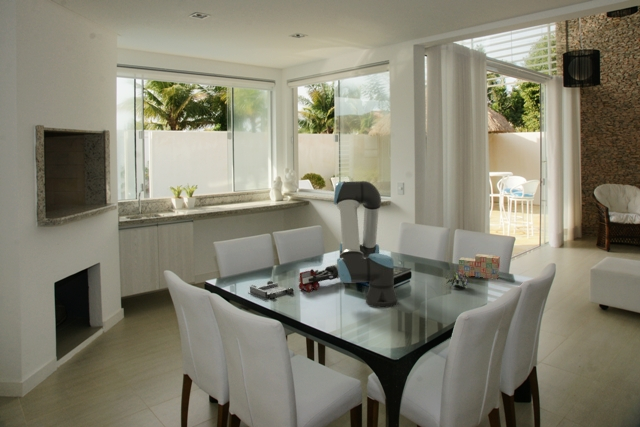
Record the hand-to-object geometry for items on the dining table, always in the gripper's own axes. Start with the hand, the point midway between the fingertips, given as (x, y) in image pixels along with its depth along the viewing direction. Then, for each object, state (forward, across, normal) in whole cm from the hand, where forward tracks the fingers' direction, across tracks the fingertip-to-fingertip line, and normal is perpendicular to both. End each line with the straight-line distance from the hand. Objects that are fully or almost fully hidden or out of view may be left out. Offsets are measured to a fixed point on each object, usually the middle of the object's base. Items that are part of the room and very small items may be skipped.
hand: (301, 280), depth 244 cm
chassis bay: (+12, +10, -6) cm, 16 cm away
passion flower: (-63, -53, -6) cm, 82 cm away
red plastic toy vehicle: (-5, 0, -6) cm, 8 cm away
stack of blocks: (-91, -49, -6) cm, 103 cm away
